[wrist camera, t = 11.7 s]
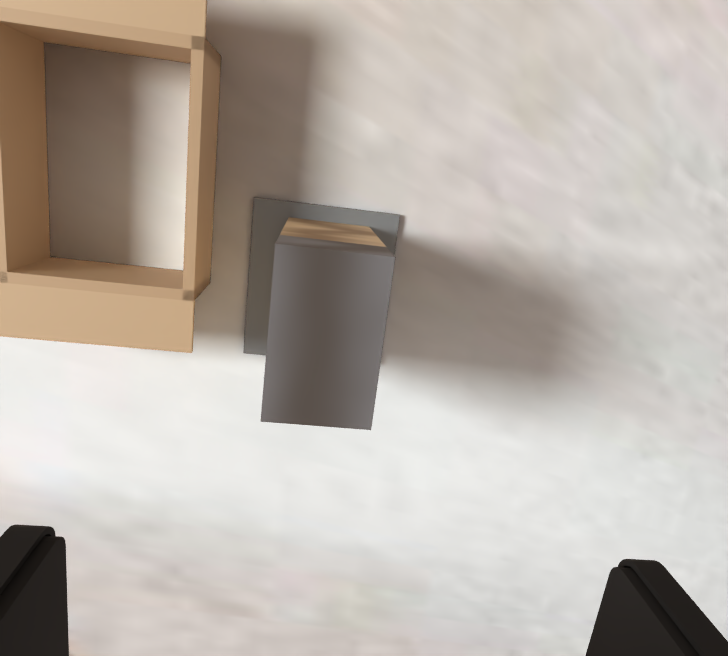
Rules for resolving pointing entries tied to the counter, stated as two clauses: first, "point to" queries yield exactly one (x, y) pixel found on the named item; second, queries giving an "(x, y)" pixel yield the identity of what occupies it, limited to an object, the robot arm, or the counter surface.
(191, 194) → the carton
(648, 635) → the robot arm
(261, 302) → the mat
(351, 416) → the block
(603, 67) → the counter surface
